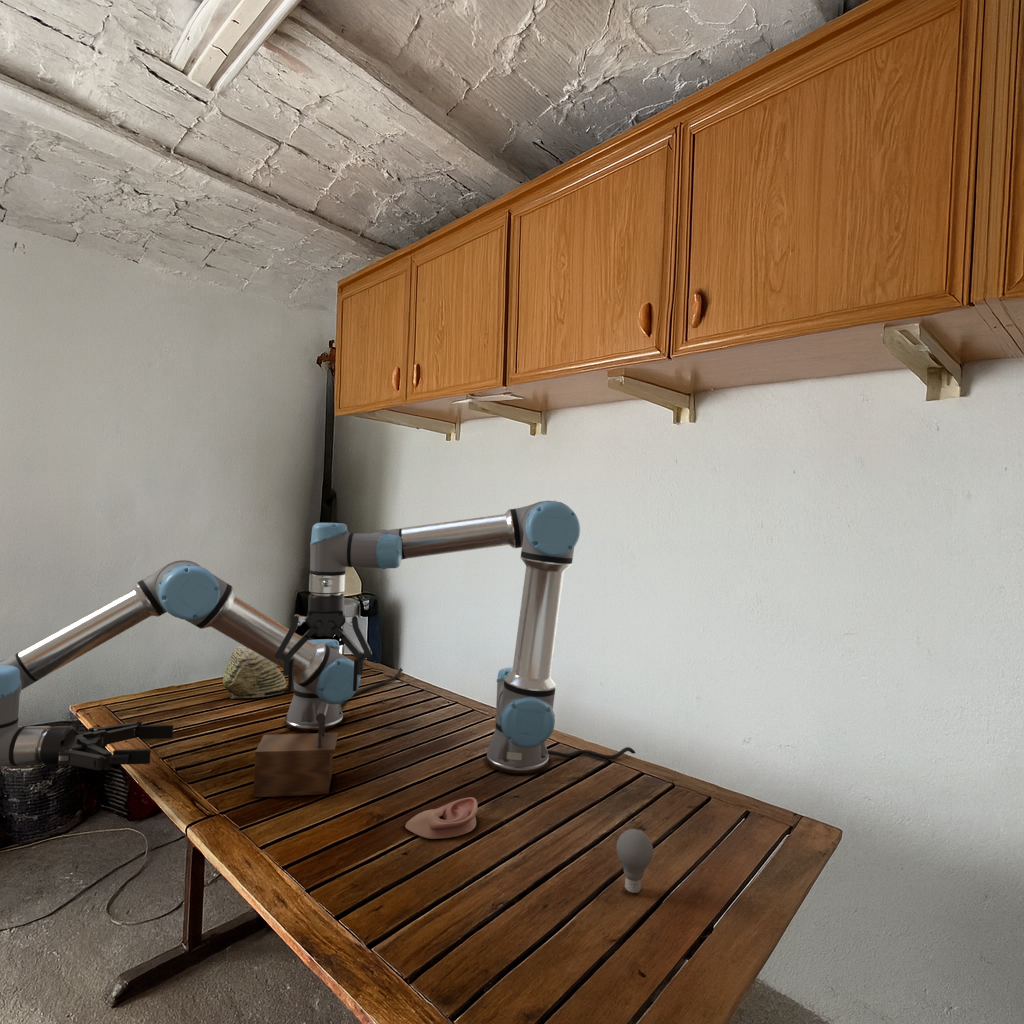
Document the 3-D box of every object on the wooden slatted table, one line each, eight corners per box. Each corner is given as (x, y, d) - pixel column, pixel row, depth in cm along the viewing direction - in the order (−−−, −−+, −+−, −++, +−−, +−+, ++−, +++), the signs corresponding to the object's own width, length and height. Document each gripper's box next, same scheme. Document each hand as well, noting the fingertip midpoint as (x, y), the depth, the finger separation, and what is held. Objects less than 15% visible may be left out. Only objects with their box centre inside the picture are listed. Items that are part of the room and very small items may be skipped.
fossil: (218, 695, 195) (220, 647, 195) (278, 685, 208) (279, 640, 207) (228, 703, 189) (230, 653, 188) (289, 692, 201) (290, 645, 201)
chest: (332, 774, 144) (333, 736, 144) (328, 794, 135) (329, 753, 135) (262, 777, 142) (263, 738, 141) (253, 797, 132) (255, 756, 132)
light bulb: (610, 879, 108) (613, 822, 108) (644, 879, 109) (647, 822, 109) (619, 902, 102) (622, 840, 102) (655, 901, 103) (658, 840, 103)
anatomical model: (399, 813, 120) (420, 787, 131) (398, 834, 120) (419, 806, 131) (467, 823, 117) (482, 796, 128) (466, 845, 117) (481, 815, 128)
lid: (337, 736, 144) (339, 700, 144) (334, 753, 135) (335, 714, 135) (263, 738, 141) (265, 701, 141) (255, 755, 132) (256, 716, 132)
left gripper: (76, 740, 141) (179, 738, 145) (11, 792, 116) (137, 787, 121) (78, 707, 141) (181, 706, 145) (13, 751, 116) (139, 748, 120)
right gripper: (263, 595, 132) (259, 696, 133) (384, 596, 137) (380, 694, 138) (269, 589, 140) (266, 685, 140) (384, 591, 145) (381, 683, 145)
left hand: (161, 743), depth 133 cm, fingers open, 13 cm apart
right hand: (323, 689), depth 139 cm, fingers open, 13 cm apart
